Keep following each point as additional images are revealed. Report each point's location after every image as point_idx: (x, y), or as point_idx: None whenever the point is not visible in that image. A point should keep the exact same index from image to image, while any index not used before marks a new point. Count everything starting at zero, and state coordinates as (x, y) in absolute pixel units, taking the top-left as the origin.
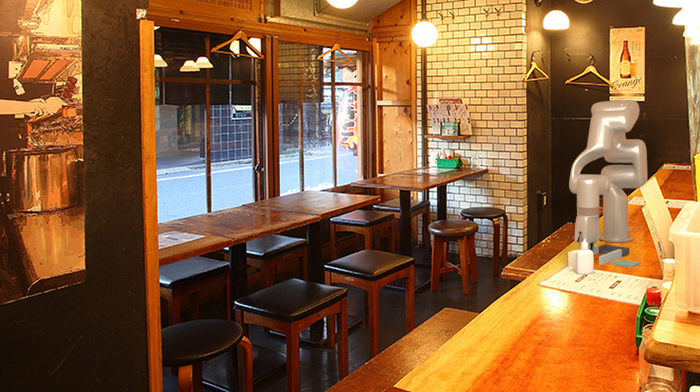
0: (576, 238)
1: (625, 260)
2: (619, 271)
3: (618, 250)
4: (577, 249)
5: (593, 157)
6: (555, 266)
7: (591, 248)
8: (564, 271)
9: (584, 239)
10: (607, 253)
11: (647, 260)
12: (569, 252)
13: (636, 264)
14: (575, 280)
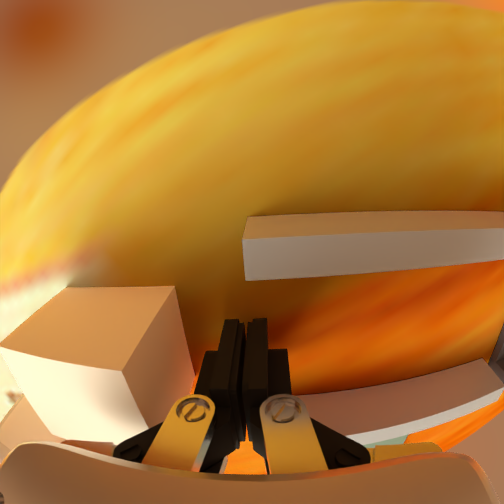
0: (9, 490)
1: (394, 439)
2: None
3: (477, 407)
4: (109, 378)
5: None
6: (19, 219)
7: (264, 452)
8: (13, 318)
9: None
10: (381, 430)
11: (448, 441)
12: (2, 355)
13: None
14: (10, 393)
